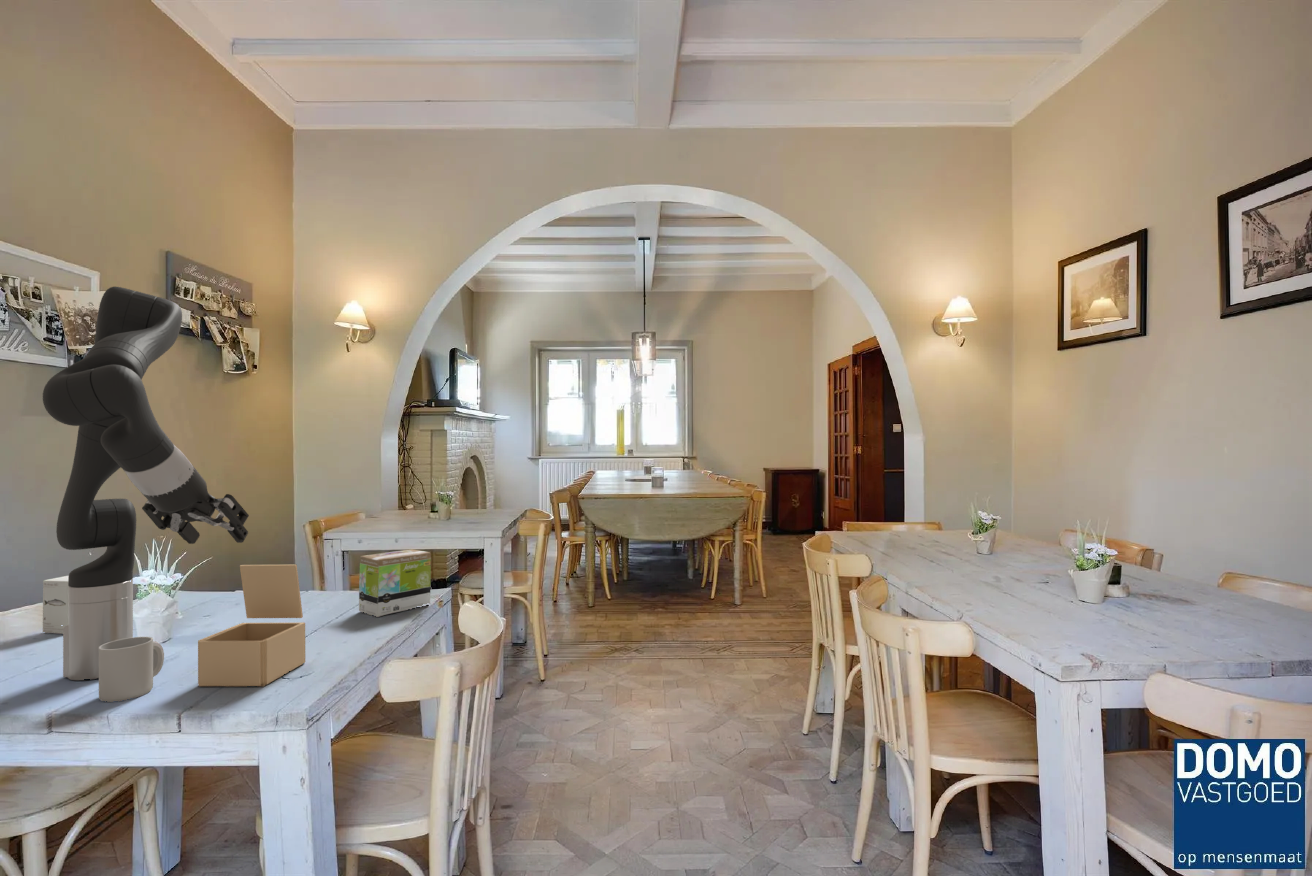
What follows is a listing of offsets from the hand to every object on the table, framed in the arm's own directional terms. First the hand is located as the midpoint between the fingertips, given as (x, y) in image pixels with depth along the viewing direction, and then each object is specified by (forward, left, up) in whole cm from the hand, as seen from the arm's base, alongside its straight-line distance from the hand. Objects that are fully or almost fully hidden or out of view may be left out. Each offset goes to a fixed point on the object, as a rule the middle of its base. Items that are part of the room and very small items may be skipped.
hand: (219, 539), depth 107 cm
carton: (0, +9, -27) cm, 28 cm away
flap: (0, +15, -18) cm, 24 cm away
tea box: (+5, +56, -27) cm, 62 cm away
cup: (-16, +1, -27) cm, 32 cm away
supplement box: (-66, +38, -27) cm, 81 cm away
